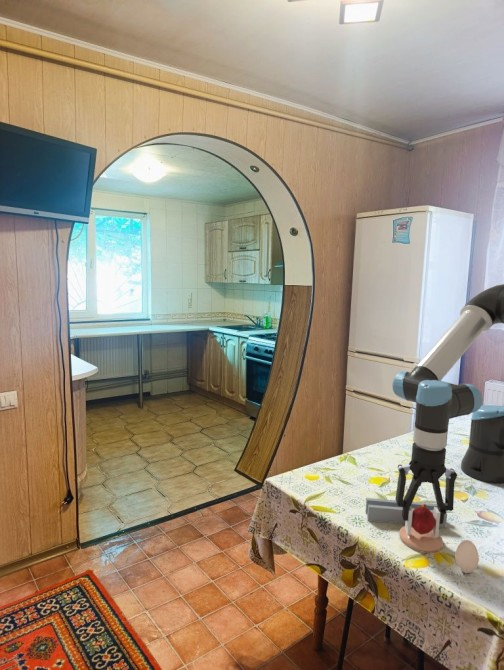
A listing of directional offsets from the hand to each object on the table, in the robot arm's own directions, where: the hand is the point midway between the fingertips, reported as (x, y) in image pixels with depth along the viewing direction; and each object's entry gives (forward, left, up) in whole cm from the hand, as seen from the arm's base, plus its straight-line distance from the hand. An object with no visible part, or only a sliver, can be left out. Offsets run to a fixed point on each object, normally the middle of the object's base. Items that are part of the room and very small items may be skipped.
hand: (421, 533), depth 107 cm
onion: (0, 0, 0) cm, 0 cm away
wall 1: (+2, -11, -2) cm, 11 cm away
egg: (-7, +10, -2) cm, 13 cm away
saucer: (0, 0, -2) cm, 2 cm away
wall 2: (+2, -7, -2) cm, 8 cm away
